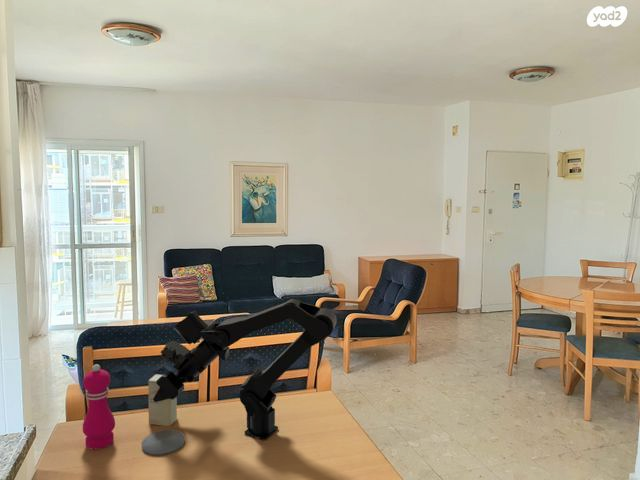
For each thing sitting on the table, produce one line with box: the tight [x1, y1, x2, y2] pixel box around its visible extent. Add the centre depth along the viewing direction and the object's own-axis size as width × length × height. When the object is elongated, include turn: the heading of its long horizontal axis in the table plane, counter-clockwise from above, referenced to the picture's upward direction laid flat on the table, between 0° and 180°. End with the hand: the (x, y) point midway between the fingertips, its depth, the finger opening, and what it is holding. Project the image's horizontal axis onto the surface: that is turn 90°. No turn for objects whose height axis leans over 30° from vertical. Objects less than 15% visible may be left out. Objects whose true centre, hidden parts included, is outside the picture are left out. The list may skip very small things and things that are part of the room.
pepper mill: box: [82, 363, 116, 450], centre depth 116 cm, size 7×7×20 cm
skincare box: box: [148, 373, 178, 427], centre depth 127 cm, size 6×4×12 cm
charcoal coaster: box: [141, 429, 186, 456], centre depth 117 cm, size 10×10×1 cm
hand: (163, 392), depth 127 cm, fingers open, 9 cm apart
